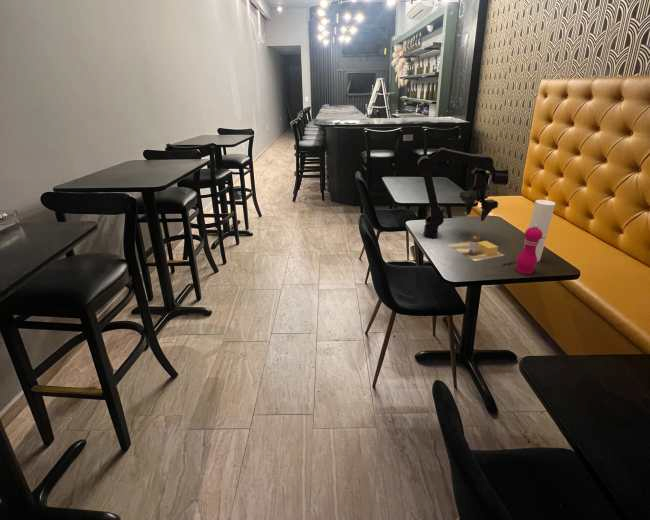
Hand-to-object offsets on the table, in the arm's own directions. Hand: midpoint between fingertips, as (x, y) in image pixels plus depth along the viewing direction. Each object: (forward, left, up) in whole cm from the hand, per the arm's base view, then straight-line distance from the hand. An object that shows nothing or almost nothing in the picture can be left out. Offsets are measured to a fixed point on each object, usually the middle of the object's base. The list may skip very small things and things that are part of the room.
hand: (475, 217), depth 178 cm
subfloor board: (+11, -7, -12) cm, 18 cm away
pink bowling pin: (+32, 0, -12) cm, 34 cm away
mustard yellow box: (+14, -4, -10) cm, 18 cm away
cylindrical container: (+24, +12, -12) cm, 29 cm away
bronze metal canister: (+14, -11, -10) cm, 21 cm away
